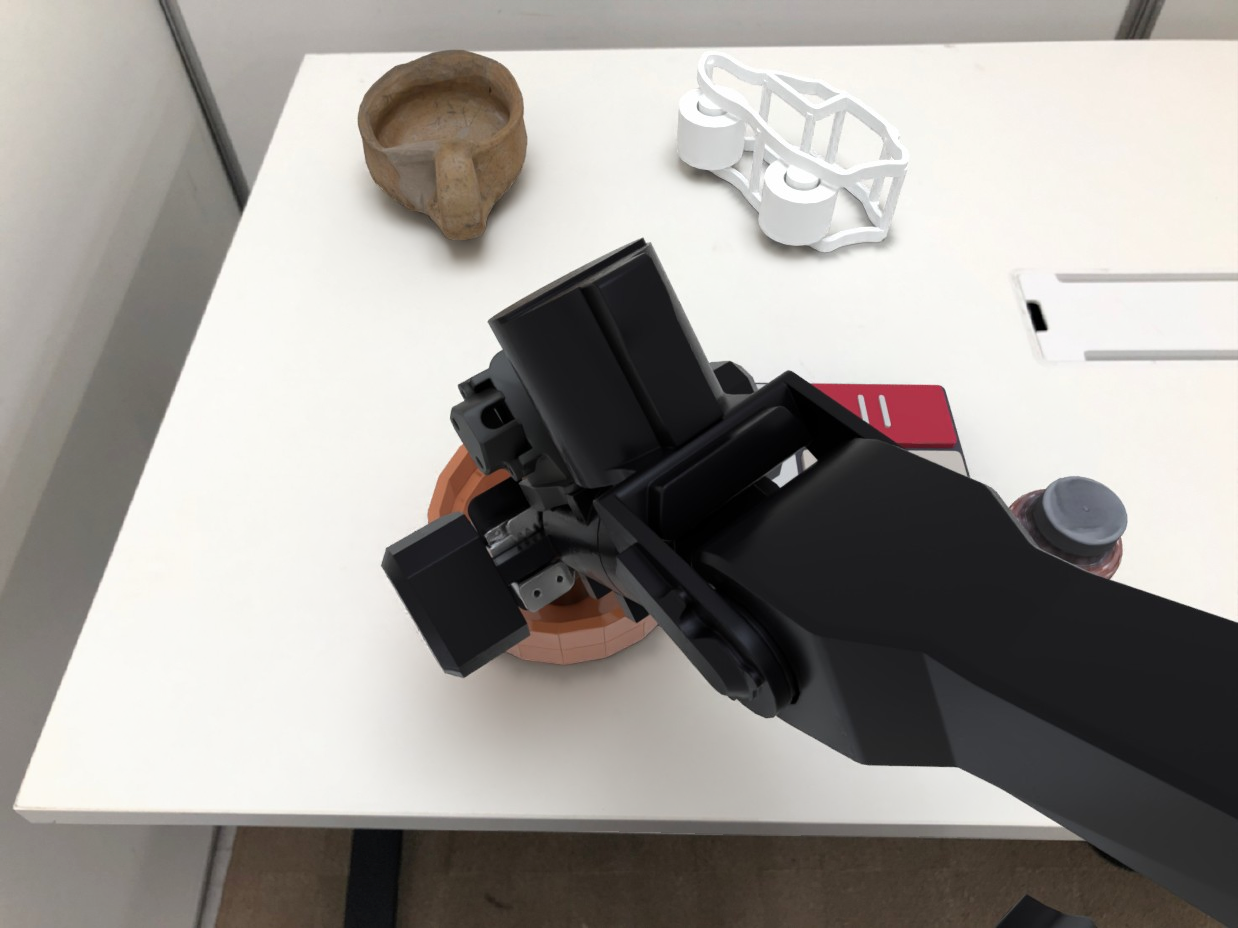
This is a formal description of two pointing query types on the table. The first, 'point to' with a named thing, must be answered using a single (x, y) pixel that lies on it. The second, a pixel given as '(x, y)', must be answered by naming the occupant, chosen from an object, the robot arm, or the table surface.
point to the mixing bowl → (553, 627)
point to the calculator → (895, 422)
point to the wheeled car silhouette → (788, 153)
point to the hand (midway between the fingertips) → (540, 490)
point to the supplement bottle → (1076, 523)
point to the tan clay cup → (445, 137)
